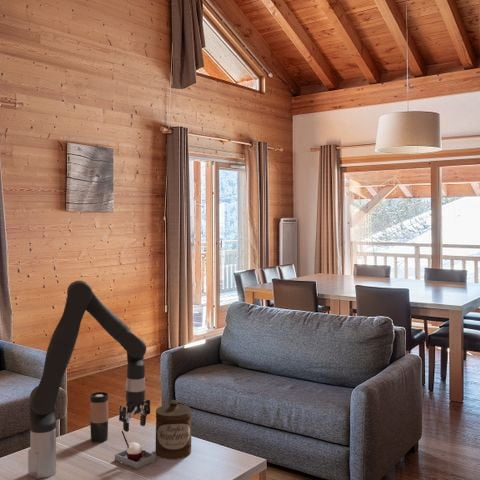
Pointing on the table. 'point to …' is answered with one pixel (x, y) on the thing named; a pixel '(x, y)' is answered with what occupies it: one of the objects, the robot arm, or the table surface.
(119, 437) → the table surface
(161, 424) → the labeled brown tin
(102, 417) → the travel mug
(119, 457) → the tray
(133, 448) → the cocoa
